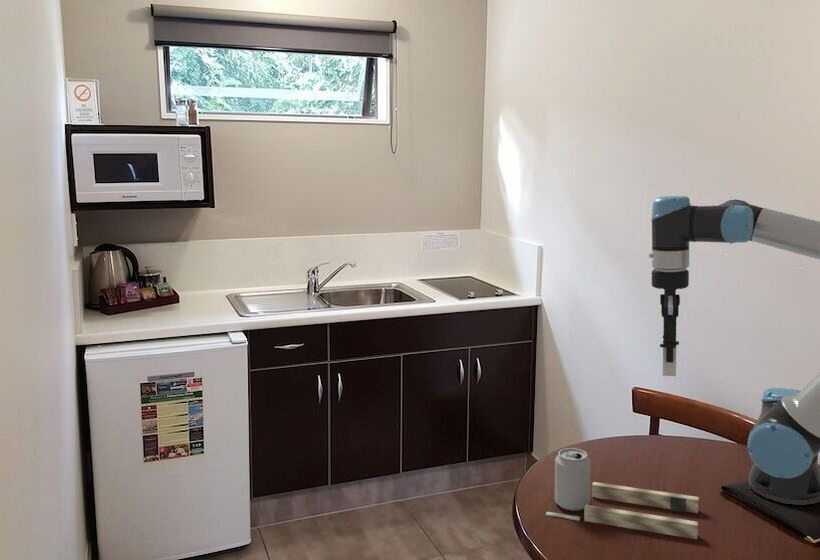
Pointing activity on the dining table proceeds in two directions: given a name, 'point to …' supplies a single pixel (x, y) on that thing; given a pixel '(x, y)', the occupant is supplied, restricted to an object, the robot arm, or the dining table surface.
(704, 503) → the dining table surface
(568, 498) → the can
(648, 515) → the chute
